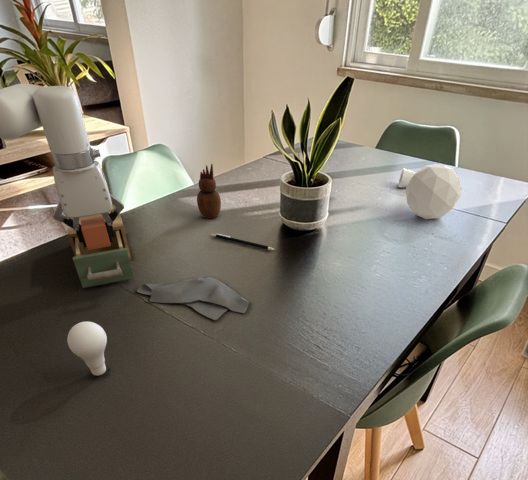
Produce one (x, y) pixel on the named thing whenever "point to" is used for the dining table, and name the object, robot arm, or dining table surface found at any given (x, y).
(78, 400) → the dining table surface
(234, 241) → the pen
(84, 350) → the lightbulb
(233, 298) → the cloth
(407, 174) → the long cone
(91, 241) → the block
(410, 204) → the geometric sphere
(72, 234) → the cabinet
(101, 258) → the drawer
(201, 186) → the wooden figurine
